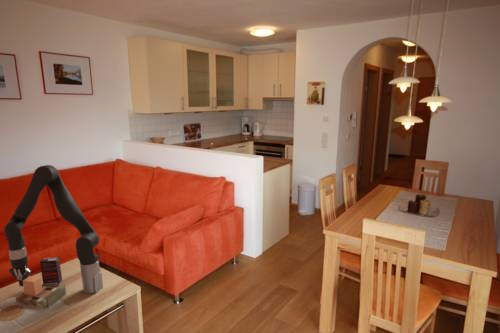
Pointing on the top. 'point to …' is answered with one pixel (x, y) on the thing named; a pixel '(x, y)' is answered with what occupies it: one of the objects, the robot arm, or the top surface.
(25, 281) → the block
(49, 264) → the supplement box
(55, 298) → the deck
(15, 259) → the robot arm
